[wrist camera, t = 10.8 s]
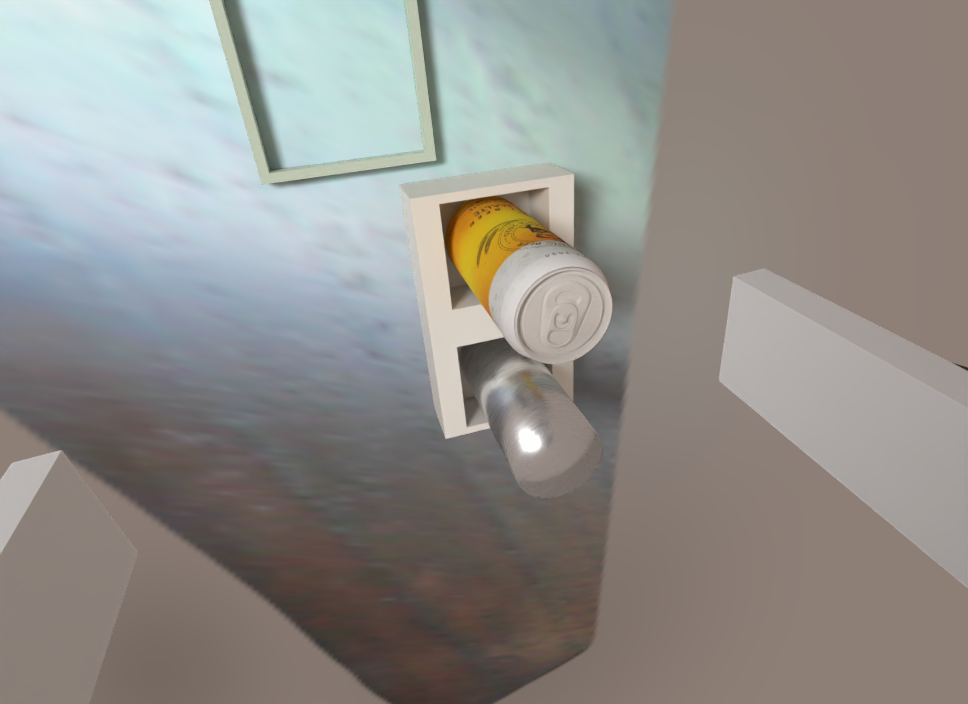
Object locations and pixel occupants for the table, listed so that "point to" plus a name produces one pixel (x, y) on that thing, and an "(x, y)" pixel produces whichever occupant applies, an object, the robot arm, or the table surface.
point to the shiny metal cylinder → (531, 419)
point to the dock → (447, 296)
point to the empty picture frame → (339, 166)
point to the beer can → (529, 280)
